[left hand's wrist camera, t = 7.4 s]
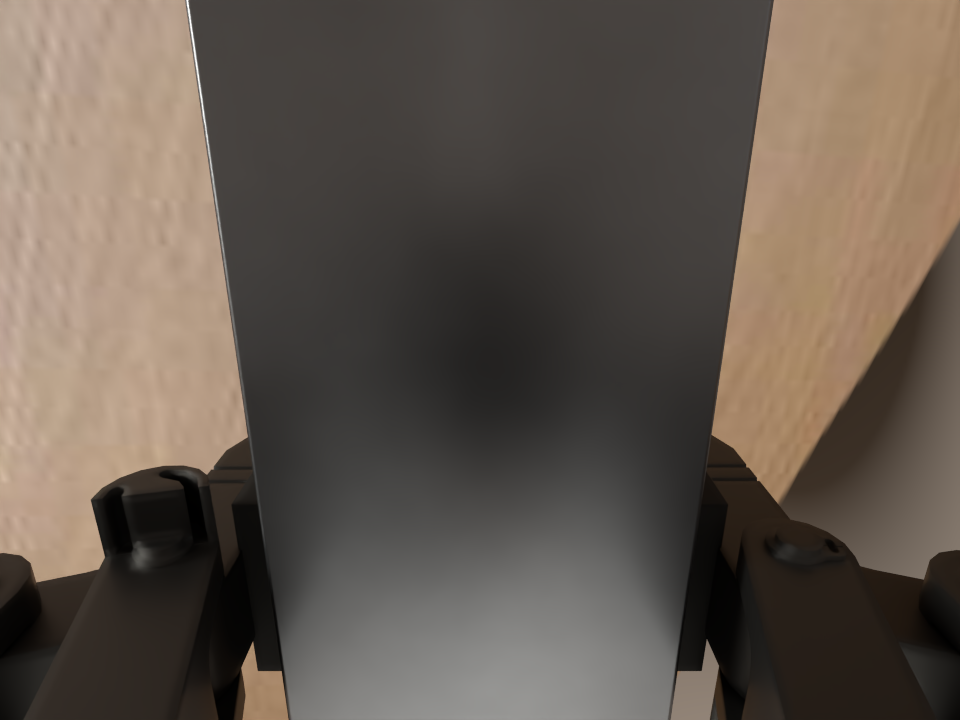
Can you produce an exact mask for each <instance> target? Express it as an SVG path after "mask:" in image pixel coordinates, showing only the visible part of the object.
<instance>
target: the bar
mask: <svg viewBox="0 0 960 720" xmlns="http://www.w3.org/2000/svg"><path fill="white" fill-rule="evenodd" d="M773 1H774V0H185V2H186V9H187V16H188V23H189V30H190V37H191V44H192V51H193V57H194V64H195V71H196V78H197V85H198V92H199V99H200V106H201V113H202V120H203V127H204V134H205V141H206V148H207V155H208V162H209V169H210V176H211V183H212V190H213V197H214V203H215V210H216V217H217V224H218V231H219V238H220V245H221V252H222V259H223V266H224V273H225V280H226V287H227V294H228V301H229V308H230V315H231V322H232V329H233V336H234V342H235V349H236V356H237V363H238V370H239V377H240V384H241V391H242V398H243V405H244V412H245V419H246V426H247V433H248V440H249V447H250V454H251V461H252V468H253V475H254V482H255V488H256V495H257V502H258V509H259V516H260V523H261V530H262V537H263V544H264V551H265V558H266V565H267V572H268V579H269V586H270V593H271V600H272V607H273V614H274V621H275V628H276V634H277V641H278V648H279V655H280V662H281V669H282V676H283V683H284V690H285V697H286V704H287V711H288V718H289V720H670V719H671V712H672V705H673V698H674V691H675V685H676V678H677V671H678V664H679V657H680V650H681V643H682V636H683V629H684V622H685V615H686V608H687V601H688V594H689V587H690V580H691V573H692V566H693V559H694V552H695V545H696V538H697V531H698V524H699V517H700V510H701V503H702V496H703V489H704V482H705V475H706V468H707V461H708V454H709V447H710V440H711V433H712V427H713V420H714V413H715V406H716V399H717V392H718V385H719V378H720V371H721V364H722V357H723V350H724V343H725V336H726V329H727V322H728V315H729V308H730V301H731V294H732V287H733V280H734V273H735V266H736V259H737V252H738V245H739V238H740V231H741V224H742V217H743V210H744V203H745V196H746V189H747V182H748V175H749V169H750V162H751V155H752V148H753V141H754V134H755V127H756V120H757V113H758V106H759V99H760V92H761V85H762V78H763V71H764V64H765V57H766V50H767V43H768V36H769V29H770V22H771V15H772V8H773Z"/></svg>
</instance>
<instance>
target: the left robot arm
mask: <svg viewBox="0 0 960 720" xmlns="http://www.w3.org/2000/svg"><path fill="white" fill-rule="evenodd" d="M91 502H92V506H93V510H94V514H95V518H96V522H97V526H98V530H99V534H100V538H101V542H102V546H103V550H104V554H105V559H104V561H103V563H102V565H101V566H100V568H99V569H98V570H94V571H91V572H87V573H82V574H77V575H72V576H67V577H62V578H57V579H52V580H47V581H42V582H37V583H36V580H35V577H34V573H33V570H32V567H31V563H30V562H28V561H27V560H26V559H25V558H23V557H22V556H20V555H13V554H6V553H1V554H0V720H242V718H243V710H244V703H245V689H244V681H243V676H242V670H241V667H242V665H243V662H244V660H245V658H246V656H247V653H248V651H249V649H250V647H251V644H252V642H253V643H254V649H255V655H256V661H257V668H258V671H282V669H281V662H280V655H279V648H278V641H277V634H276V628H275V621H274V614H273V607H272V600H271V593H270V586H269V579H268V572H267V565H266V558H265V551H264V544H263V537H262V530H261V523H260V516H259V509H258V502H257V495H256V488H255V482H254V475H253V468H252V461H251V454H250V447H249V440H248V438H246V439H244V440H243V441H241V442H240V443H238V444H236V445H235V446H233V447H232V448H230V449H228V450H227V451H226V452H225V453H224V454H223V456H222V457H221V458H220V459H219V461H218V462H217V463H216V464H215V466H214V470H211V471H210V472H209V473H208V475H206V474H205V473H203V472H202V471H201V470H200V469H196V468H192V467H187V466H161V467H156V468H151V469H145V470H141V471H138V472H135V473H132V474H130V475H127V476H124V477H121V478H119V479H117V480H116V481H114V482H112V483H110V484H109V485H107V486H105V487H103V488H102V489H101V490H100V491H99V492H98V493H97V494H96V495H95V496H94V497H93V498H92V499H91ZM706 640H708V642H709V644H710V647H711V649H712V651H713V653H714V655H715V658H716V660H717V662H718V664H719V670H718V676H717V682H716V687H715V693H714V699H713V704H712V710H711V716H710V720H960V550H954V551H948V552H941V553H938V554H937V555H936V556H935V557H933V558H932V559H931V560H930V562H929V565H928V568H927V572H926V575H925V578H924V580H922V579H917V578H912V577H907V576H902V575H897V574H892V573H887V572H882V571H877V570H872V569H869V568H865V567H861V566H860V565H859V563H858V561H857V559H856V557H855V556H854V555H853V553H852V552H851V551H850V550H849V548H848V547H847V546H846V545H845V544H844V543H843V542H841V541H840V540H839V539H837V538H836V537H834V536H833V535H831V534H830V533H828V532H826V531H824V530H822V529H819V528H817V527H814V526H812V525H810V524H807V523H803V522H799V521H794V520H790V519H789V517H788V516H787V515H786V514H785V512H784V511H783V510H782V509H781V507H780V506H779V505H778V504H777V502H776V501H775V500H774V499H773V497H772V496H771V495H770V494H769V492H768V491H767V490H766V489H765V487H764V486H763V485H762V484H761V482H760V481H757V477H756V476H755V475H754V474H753V472H752V471H751V470H750V469H749V468H746V464H745V462H744V461H743V460H742V459H741V457H740V456H739V455H738V454H737V452H736V451H735V450H734V449H733V448H732V447H730V446H729V445H727V444H725V443H724V442H722V441H720V440H719V439H717V438H716V437H714V436H712V435H711V440H710V447H709V454H708V461H707V468H706V475H705V482H704V489H703V496H702V503H701V510H700V517H699V524H698V531H697V538H696V545H695V552H694V559H693V566H692V573H691V580H690V587H689V594H688V601H687V608H686V615H685V622H684V629H683V636H682V643H681V650H680V657H679V664H678V671H702V665H703V659H704V652H705V646H706Z"/></svg>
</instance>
